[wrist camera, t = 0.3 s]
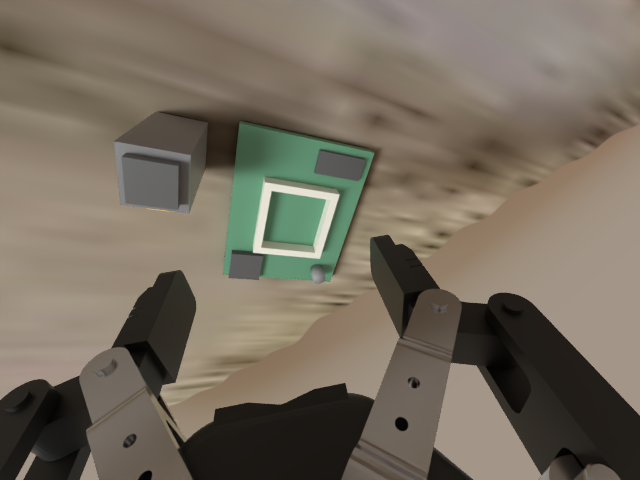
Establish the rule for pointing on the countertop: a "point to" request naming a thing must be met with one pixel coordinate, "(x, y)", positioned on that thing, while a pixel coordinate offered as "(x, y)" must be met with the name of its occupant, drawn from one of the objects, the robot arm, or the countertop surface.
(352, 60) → the countertop surface
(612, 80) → the countertop surface
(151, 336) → the robot arm
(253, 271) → the mount board
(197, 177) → the plug
